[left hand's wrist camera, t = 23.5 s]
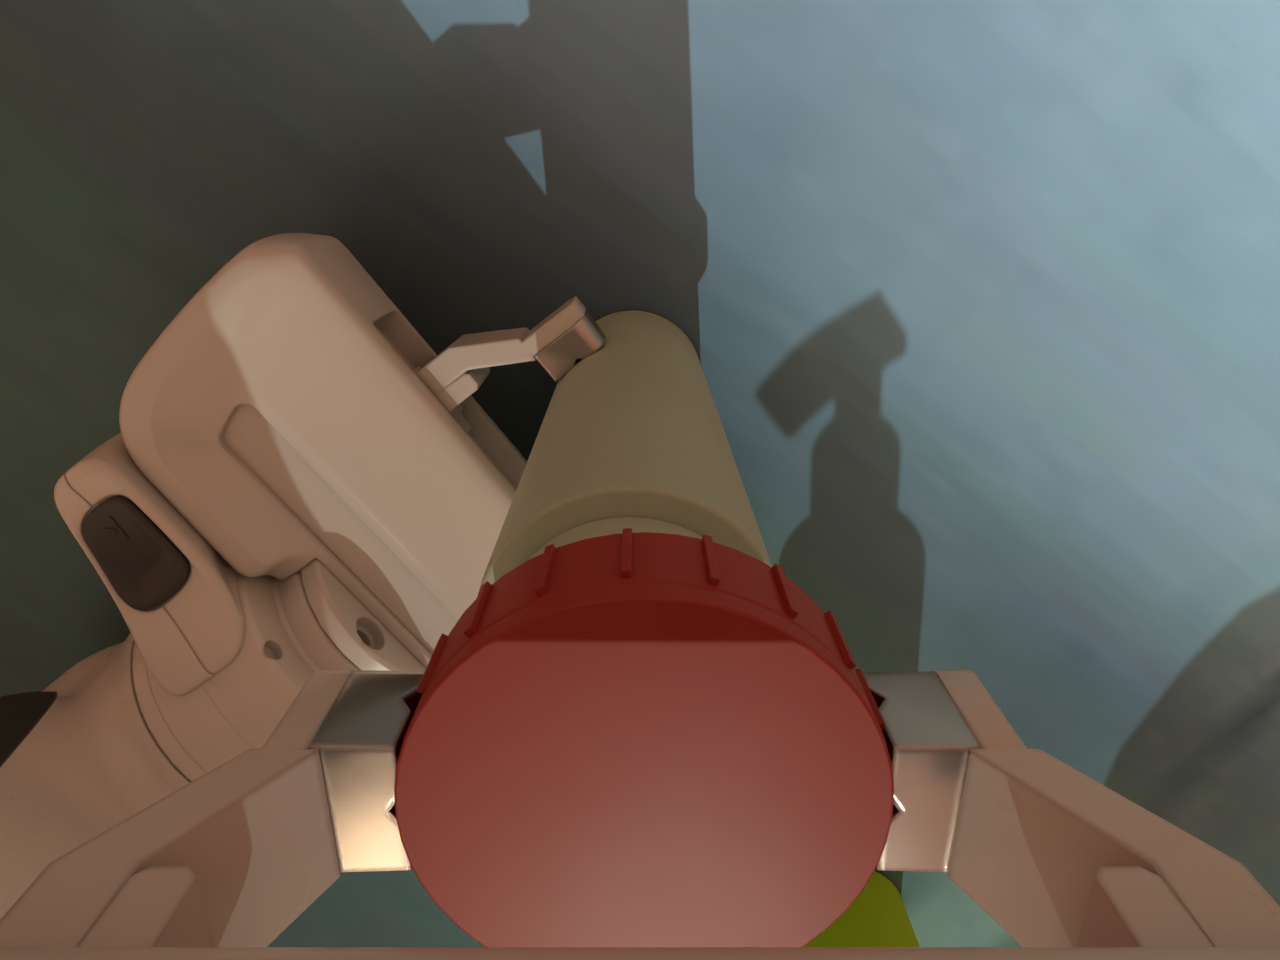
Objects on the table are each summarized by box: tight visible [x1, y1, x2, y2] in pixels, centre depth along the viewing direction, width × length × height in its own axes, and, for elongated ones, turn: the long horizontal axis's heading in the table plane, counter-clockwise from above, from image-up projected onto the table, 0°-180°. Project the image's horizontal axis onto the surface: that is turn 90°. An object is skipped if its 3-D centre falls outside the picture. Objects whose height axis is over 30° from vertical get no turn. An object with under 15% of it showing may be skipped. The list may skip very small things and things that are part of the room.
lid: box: [394, 528, 894, 947], centre depth 10 cm, size 6×6×2 cm
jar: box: [478, 310, 772, 594], centre depth 20 cm, size 5×5×19 cm
